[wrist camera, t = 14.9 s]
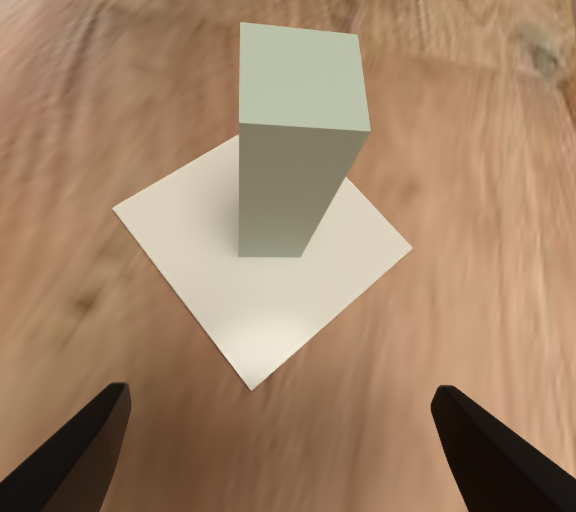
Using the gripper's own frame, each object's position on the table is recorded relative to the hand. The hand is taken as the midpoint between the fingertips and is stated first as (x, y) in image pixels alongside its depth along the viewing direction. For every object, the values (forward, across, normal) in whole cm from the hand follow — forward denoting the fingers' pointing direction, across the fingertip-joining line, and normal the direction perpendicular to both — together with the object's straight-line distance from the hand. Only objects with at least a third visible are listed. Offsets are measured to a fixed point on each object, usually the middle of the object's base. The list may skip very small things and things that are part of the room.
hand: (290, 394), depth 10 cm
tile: (+17, 0, +2) cm, 17 cm away
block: (+17, 0, +2) cm, 17 cm away
